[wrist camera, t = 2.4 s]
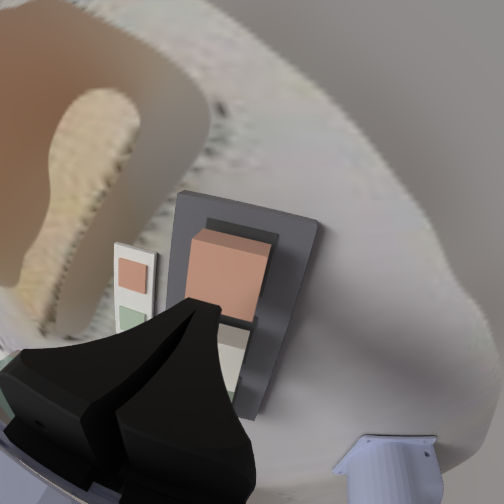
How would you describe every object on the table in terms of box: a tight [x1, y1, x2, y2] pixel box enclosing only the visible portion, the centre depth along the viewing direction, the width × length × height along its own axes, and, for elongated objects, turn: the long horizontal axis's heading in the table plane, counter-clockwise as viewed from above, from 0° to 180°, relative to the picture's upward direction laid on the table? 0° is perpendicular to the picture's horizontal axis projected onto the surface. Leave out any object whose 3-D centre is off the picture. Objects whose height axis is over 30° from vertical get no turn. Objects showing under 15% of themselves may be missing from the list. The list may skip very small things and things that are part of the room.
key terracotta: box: [185, 228, 271, 322], centre depth 15 cm, size 4×4×2 cm
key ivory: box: [217, 324, 250, 392], centre depth 17 cm, size 4×4×2 cm
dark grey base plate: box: [166, 190, 318, 421], centre depth 20 cm, size 8×17×1 cm, turn 169°
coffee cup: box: [0, 350, 21, 425], centre depth 23 cm, size 8×8×12 cm
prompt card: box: [114, 242, 157, 334], centre depth 21 cm, size 3×8×1 cm, turn 169°
